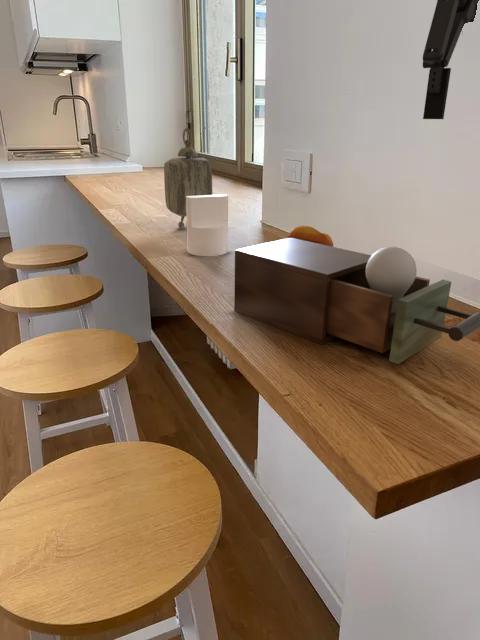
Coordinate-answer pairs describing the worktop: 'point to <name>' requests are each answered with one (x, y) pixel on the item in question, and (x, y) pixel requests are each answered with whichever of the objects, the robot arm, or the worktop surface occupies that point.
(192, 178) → the cowbell
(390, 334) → the drawer
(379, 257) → the lightbulb
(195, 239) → the base with upright slab
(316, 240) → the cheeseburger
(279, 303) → the cabinet
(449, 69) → the robot arm
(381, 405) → the worktop surface
